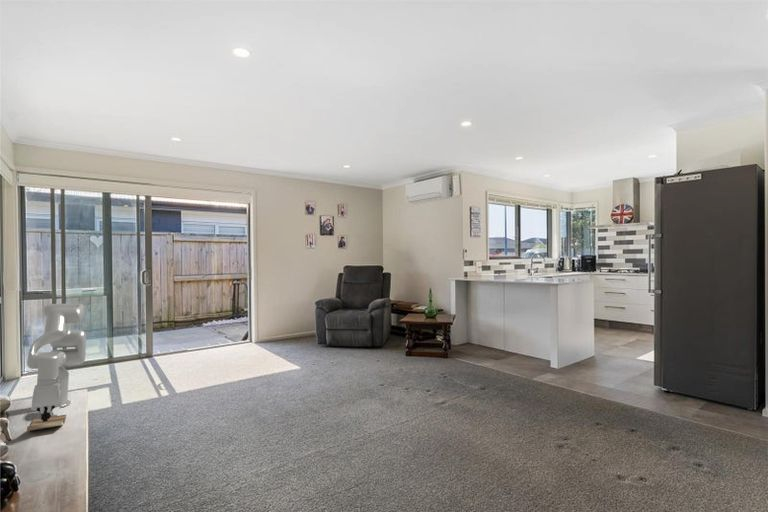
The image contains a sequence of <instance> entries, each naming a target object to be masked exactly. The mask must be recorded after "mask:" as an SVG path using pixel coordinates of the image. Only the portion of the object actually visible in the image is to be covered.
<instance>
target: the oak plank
mask: <svg viewBox="0 0 768 512" xmlns="http://www.w3.org/2000/svg"><path fill="white" fill-rule="evenodd" d="M63 423H64V422H63V421H59V422H53V423H47V424H40V425H34V426H31V425H29V426H27V427H26V430H27V431H29V432H32V431H37V430H45V429H50V428H57V427H63V426H64V424H65V423H64V424H63Z"/></svg>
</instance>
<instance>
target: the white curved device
mask: <svg viewBox="0 0 768 512" xmlns="http://www.w3.org/2000/svg"><path fill="white" fill-rule="evenodd" d="M44 409H45V412H47V410H48V406H47V407H44ZM60 410H61V408H59V407H56V408H54V409H53V410H52V411H51V412H50V417H53V416H59V411H60Z"/></svg>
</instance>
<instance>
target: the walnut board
mask: <svg viewBox="0 0 768 512" xmlns="http://www.w3.org/2000/svg"><path fill="white" fill-rule="evenodd" d="M66 418H67V414H61V415H58V416H53V417H50V419H48V421H47V422H43V420H41V417H39V418H34V419H32V421H31V424H30V426H34V425H40V424H47V423H53V422H59V421H63V422H64V423H63V425H65V422H66Z"/></svg>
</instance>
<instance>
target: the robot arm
mask: <svg viewBox="0 0 768 512" xmlns="http://www.w3.org/2000/svg"><path fill="white" fill-rule="evenodd" d="M43 314H44V316H45V317H46V320H45V325H44V332H43V334H42V335H40V336H39V337H38V338H37V339H36V340H34V341H33V343H32V344H31V346H30V347H29V349H28V354H27V360H26V365H27V367H28V369H32V370H37V376H36V377H37V378H36V384H35V386H34V388H33V392H32V398H31V399H32V400H31V407H30V410H31V411H35V412H36V411H37V412H38V413H39V414H41V415H40V418H41V420H43V422H47V421H48V419H50V412H51V411H52V410H53V409H54V408H56V407H59V408H60V409H61V408H65V407H68V406H69V405H70V404H71V403H72V402H71V400H70V399H68V398H69V397H68V394H69V380H70V379H69V376H70V374H69V370H68V369H66V368H65V367H67V366H69V367H70V366H77V365H78V366H79V365H82V364H83V363H85V360H86V353H87V352H86V349H87V347H86V346H87V335H86V332H85V331H84V330H81V329H75V330H74V329H71V324H79V323H81V322H82V320H83V318H84V315H85V306H84V304H82V303H51V304H46V305H45V306H44V307H43ZM48 344H50V346H51V347H52V348H54V350H51V351H44V352H43V351H42V352H38V351H39V350H40V349H41V348H42V347H44V346H46V345H48ZM47 406H48V410H47V412H45V409H44V407H47Z"/></svg>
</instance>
